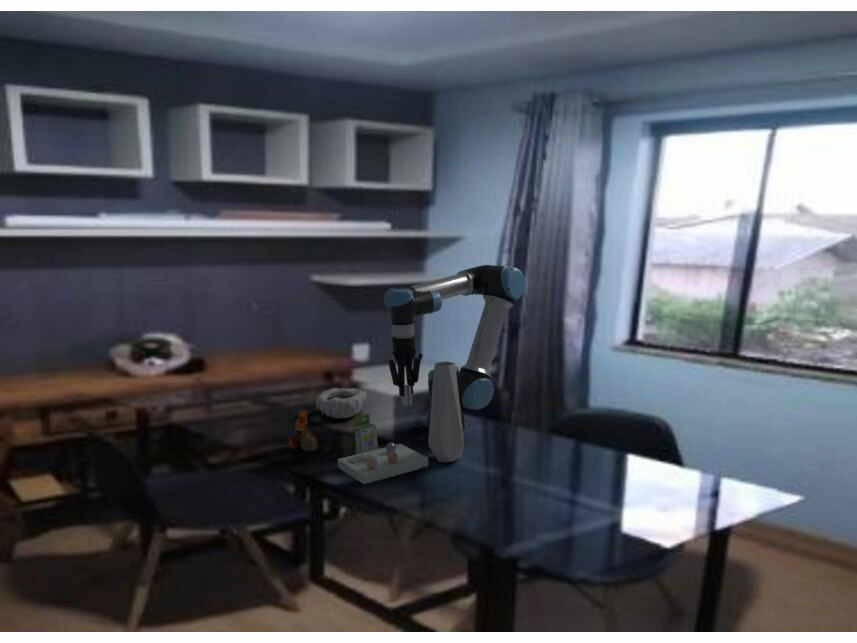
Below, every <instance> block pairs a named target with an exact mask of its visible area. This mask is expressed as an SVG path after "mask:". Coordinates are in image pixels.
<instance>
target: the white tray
mask: <svg viewBox="0 0 857 643" xmlns="http://www.w3.org/2000/svg"><path fill="white" fill-rule="evenodd" d="M395 445H396V450H395V452H396V453H397V455H398V459H397V461H396V462H390V461H388V459H387V455H388V453H389V452H387V451H386V446H385V447H382V448H381V447H380V448H378V449H376V450H372V451H368V452H364V453H360V454H356V453H355V454H353V455H352V454H351V455H350V456H345V457H342V458H337V468H338V469H340V471H342V472H344V473H345V474H347V475H349V476H350V477H352V478H353V479H355V480H356V481H358V482H360V483H361V484H362V485H366V484H370V483H373V482H377V481H380V480H384V479H388V478H392V477H395V476H399V475H403V474H405V473H410V472H414V471H417V470H420V468H421V469H423V468H422V467H425V468H427V466H428V467H429V457H428V456H425V455H423V454H422V453H420V452H417V451H415V449H414V450H413V449H411V448H410V447H408V446H406V445H404V444H402V443H398V444H397V443H395ZM371 457H372V458H375V459H376V460H377V465H376V467H375V468H373V469H370V468H368V467H367V465H366V461H367V459H368V458H371Z"/></svg>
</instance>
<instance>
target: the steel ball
mask: <svg viewBox="0 0 857 643" xmlns="http://www.w3.org/2000/svg"><path fill="white" fill-rule="evenodd" d="M385 447H386V451H387V452H392V451H393V452H395V450H396V443H394V442H393V441H392V442H388V443H387V444H386V445H385Z"/></svg>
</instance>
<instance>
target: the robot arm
mask: <svg viewBox="0 0 857 643" xmlns="http://www.w3.org/2000/svg"><path fill="white" fill-rule="evenodd" d="M526 287H527V286H526V278H525V275H524V274H523V272H522V271H521V270H520V269H519V268H517V267H514V266H510V265H491V264H484V265H478V266H475V267H471V268H470V267H469V268H467V269H463V270H460V271H458V272H457V273H456V274H455V275H454V274H453V275H450V276H447V277H442V278H439V279H436V280H430V281H426V282H422V283H418V284H415V285H411V286H408V287H406V286H405V287H402V288H397V287H394V288H389V289H387V290H386V292H385V294H384V297H383V302H384V305H385V306H386V307H387V308H388V309H390V318H391V336H392V338H391V340H392V342H391V343H392V349H393V351H392V354H391V356H390V357H387V358H386V359H385V361H386V363H387V364H388V366H389V371H390V375H391V380H392V384H393V386H396V387H398V393H399V396H400V398H401V405H402V406H405V407H407V406H412V405H413V400H412V398H413V396H412V395H413V394H414V386H416V385H415V384H416V383H418V382H419V377H420V368H421V360H422V358H423V354H422V353H420V352H417V350H416V336H415V334H416V333H415V331H416V330H415V317H417V316H422V315H423V316H424V315H427V314H429V315H431V314H433V313H437V312H439V311H440V310H441V309H442V306H443V300H446V299H449V298H453V297H457V296H460V295H462V296H464V297H466V296H473V295H475V296H482V298H483V300H484V307H483V309H482V313H481V316H480V318H479V319H480V320H479V322H478V325H477V329H476V331H475V335H474V338H473V341H472V345H471V348H470V351H469V354H468V358H467V361H466V364H464V365H461V366H460V368H459V366H455V367H456V376H457V385H458V394H459V403H460V412H461V421H462V430H463V431H464V430H465V429H466V427H467V426H466V419H465V416H464V414H463V411H462V409H461V407H462V408H465V409H469V410H475V411H476V410H482V409H484V407H487V406H488V405H489V404H490V402H491V401H492V399H493V397H494V391H495V389H494V384H493V383H492V381H491V379H492V375H491V372H490V368H491V366H492V361H493V358H494V355H495V351H496V348H497V345H498V343H499V339H500V335H501V333H502V330H503V327H504V323H505V319H506V317H507V312H508V310H509V309H511V308H512V307H514V305H515V300H519V299H521V298H522V297H523V296H524V293H525V291H526ZM405 376H406V378H405ZM427 376H428V377H427V386H428V388H427V389H428V403H429V408H428V412H427V415H426V416H427V417H426V420H425V429H426V430H427V432H429V427H430V415H431V402H432V390H433V378H434V368H433V369H430V370H429V371H428V374H427ZM405 379H406V380H405Z"/></svg>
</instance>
